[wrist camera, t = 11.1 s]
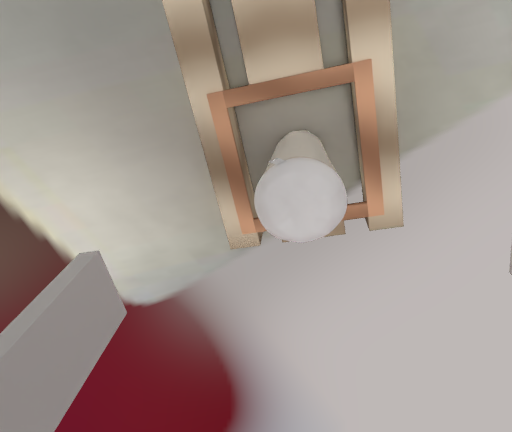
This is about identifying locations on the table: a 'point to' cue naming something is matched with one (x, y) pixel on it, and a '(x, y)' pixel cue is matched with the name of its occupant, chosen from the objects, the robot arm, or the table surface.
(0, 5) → the table surface
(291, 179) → the milkshake
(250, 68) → the wooden slide rule
